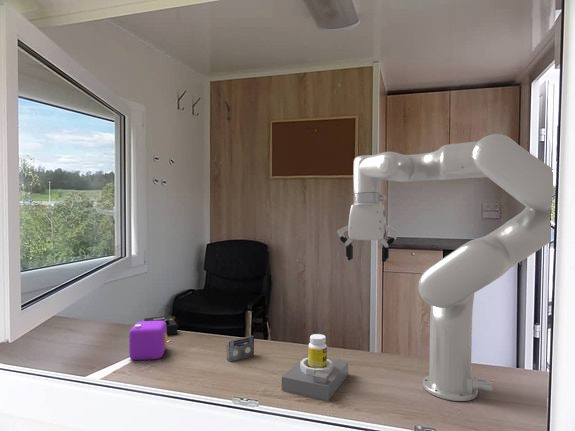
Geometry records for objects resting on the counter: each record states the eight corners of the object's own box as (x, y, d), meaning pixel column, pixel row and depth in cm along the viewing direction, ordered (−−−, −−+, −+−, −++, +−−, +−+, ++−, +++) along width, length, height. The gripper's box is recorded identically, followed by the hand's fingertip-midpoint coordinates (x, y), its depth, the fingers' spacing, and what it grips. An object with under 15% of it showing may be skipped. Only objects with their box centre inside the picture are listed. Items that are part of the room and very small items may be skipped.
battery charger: (143, 329, 143) (143, 318, 143) (170, 325, 147) (170, 315, 147) (148, 340, 131) (148, 328, 131) (177, 335, 135) (177, 324, 135)
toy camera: (167, 343, 127) (167, 313, 126) (168, 359, 114) (168, 325, 114) (131, 347, 123) (131, 316, 123) (128, 364, 110) (128, 329, 110)
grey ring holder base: (348, 374, 104) (348, 356, 104) (328, 401, 90) (328, 380, 90) (306, 366, 109) (306, 348, 109) (281, 390, 95) (281, 370, 95)
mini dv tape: (251, 354, 118) (251, 335, 118) (253, 356, 117) (254, 336, 117) (226, 360, 113) (226, 340, 113) (228, 362, 112) (228, 341, 112)
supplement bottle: (325, 373, 96) (325, 340, 96) (306, 372, 97) (307, 338, 97) (327, 366, 101) (327, 334, 101) (309, 364, 102) (309, 332, 102)
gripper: (400, 199, 109) (400, 260, 109) (340, 200, 116) (341, 257, 116) (396, 199, 102) (396, 263, 103) (333, 200, 109) (333, 260, 110)
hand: (367, 260), depth 110 cm, fingers open, 9 cm apart
